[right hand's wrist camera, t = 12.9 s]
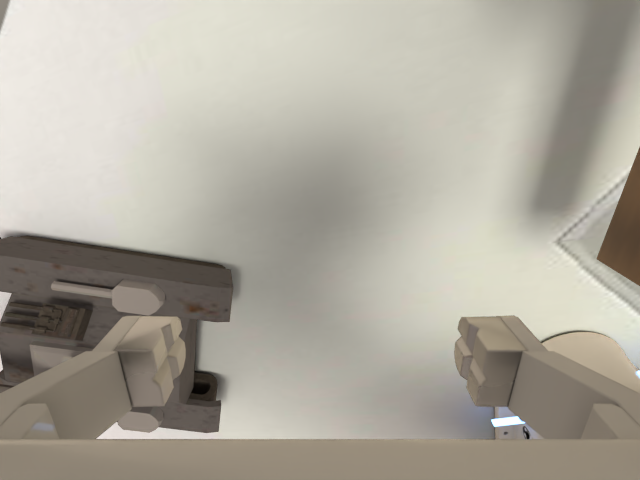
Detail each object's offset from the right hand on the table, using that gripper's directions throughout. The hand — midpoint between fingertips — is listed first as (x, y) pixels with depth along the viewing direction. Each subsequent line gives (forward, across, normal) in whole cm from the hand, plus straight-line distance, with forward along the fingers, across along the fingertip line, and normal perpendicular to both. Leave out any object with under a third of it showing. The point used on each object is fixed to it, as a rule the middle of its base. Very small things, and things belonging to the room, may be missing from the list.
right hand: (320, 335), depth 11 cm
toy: (+28, -23, -19) cm, 41 cm away
